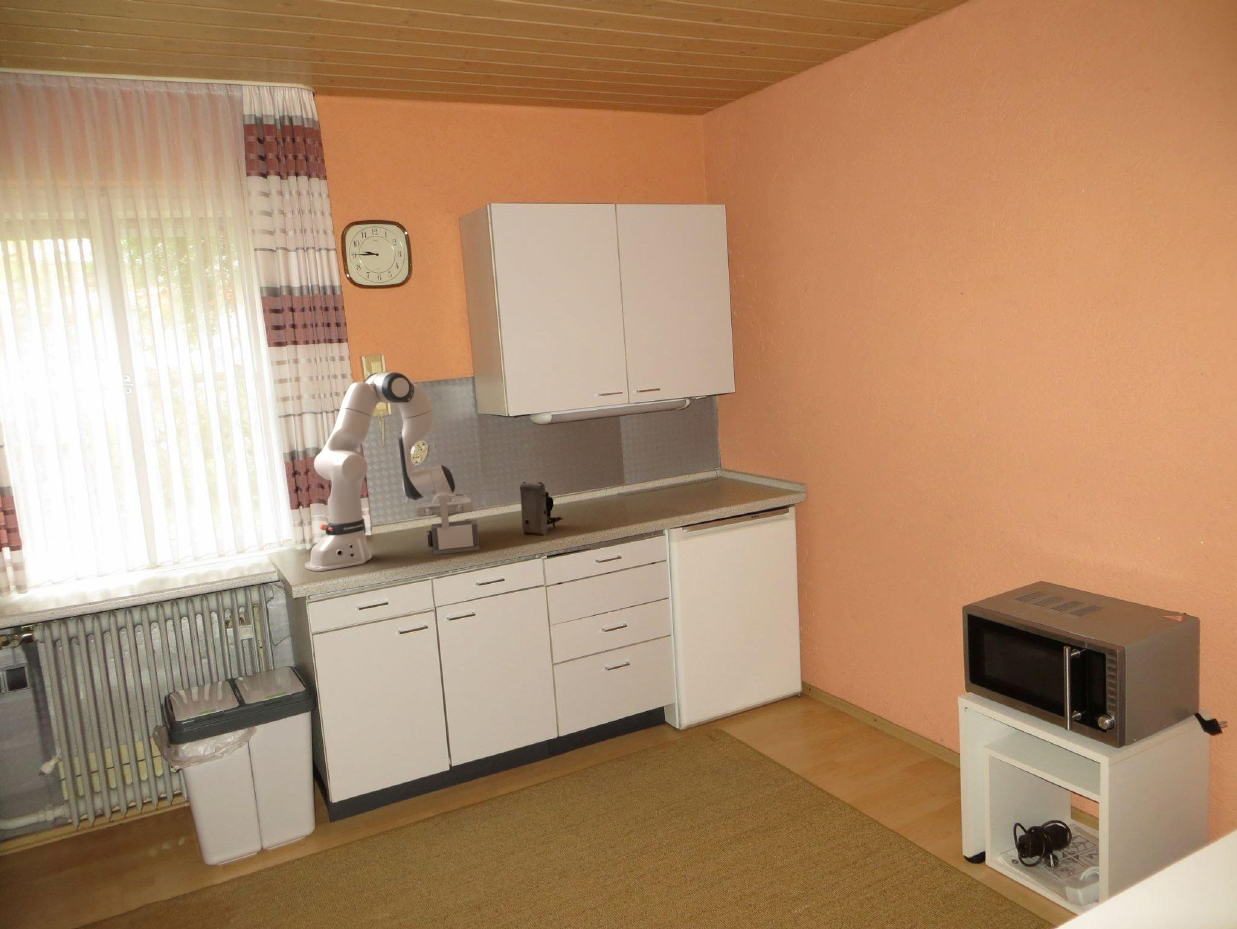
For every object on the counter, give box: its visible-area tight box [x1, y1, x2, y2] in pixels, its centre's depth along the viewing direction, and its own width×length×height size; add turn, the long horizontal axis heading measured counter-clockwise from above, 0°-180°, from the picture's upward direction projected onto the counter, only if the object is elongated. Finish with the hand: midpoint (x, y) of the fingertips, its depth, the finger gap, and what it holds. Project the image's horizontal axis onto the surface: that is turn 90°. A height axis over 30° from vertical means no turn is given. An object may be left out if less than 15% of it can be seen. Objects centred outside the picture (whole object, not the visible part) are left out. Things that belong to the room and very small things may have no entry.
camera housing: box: [426, 518, 480, 556], centre depth 321 cm, size 18×10×10 cm, turn 101°
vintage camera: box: [519, 481, 565, 536], centre depth 342 cm, size 10×16×20 cm, turn 149°
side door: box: [437, 495, 473, 550], centre depth 316 cm, size 12×2×19 cm, turn 101°
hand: (444, 511), depth 317 cm, fingers open, 8 cm apart
